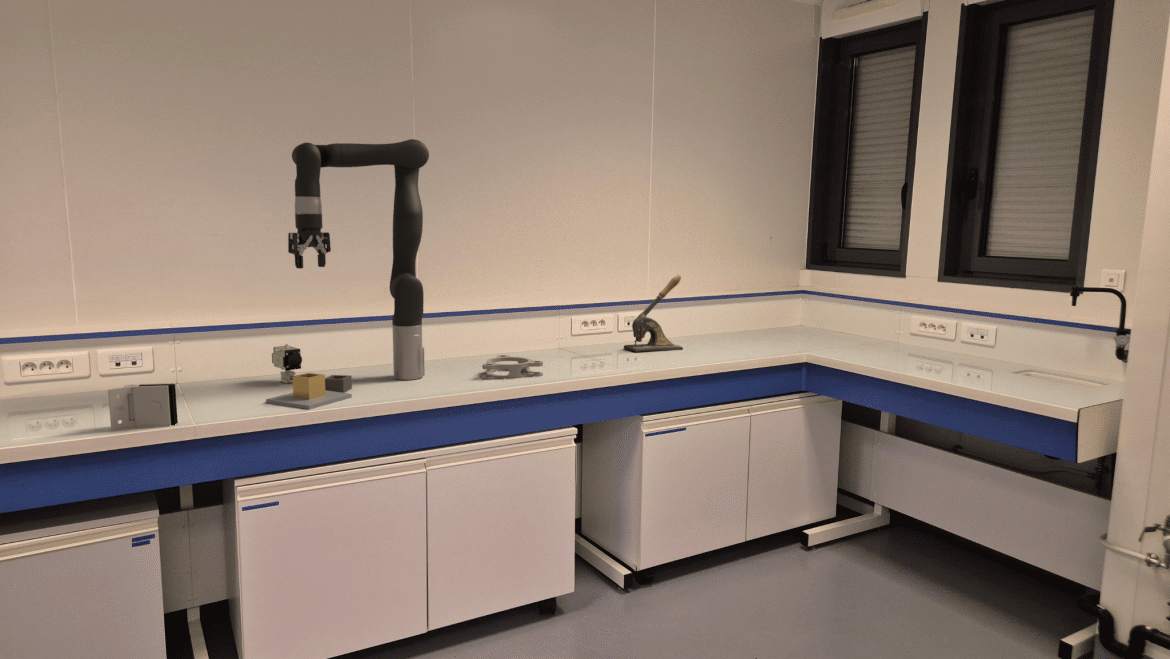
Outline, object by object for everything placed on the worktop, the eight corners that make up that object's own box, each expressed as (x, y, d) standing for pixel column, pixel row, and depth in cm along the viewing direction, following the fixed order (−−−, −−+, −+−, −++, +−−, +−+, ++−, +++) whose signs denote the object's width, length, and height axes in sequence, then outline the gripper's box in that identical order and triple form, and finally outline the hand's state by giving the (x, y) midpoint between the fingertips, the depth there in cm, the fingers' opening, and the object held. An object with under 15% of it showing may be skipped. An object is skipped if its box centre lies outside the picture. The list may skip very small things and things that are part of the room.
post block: (310, 391, 222) (309, 371, 221) (351, 397, 215) (351, 376, 214) (266, 402, 208) (265, 381, 207) (309, 409, 201) (308, 387, 200)
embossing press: (622, 349, 305) (623, 274, 300) (673, 345, 314) (675, 273, 310) (634, 353, 295) (635, 276, 290) (686, 350, 304) (688, 275, 300)
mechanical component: (484, 381, 241) (484, 366, 240) (472, 370, 258) (472, 356, 258) (545, 377, 248) (545, 362, 247) (529, 367, 265) (529, 353, 265)
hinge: (110, 431, 178) (107, 389, 177) (114, 426, 183) (111, 385, 182) (176, 425, 184) (174, 385, 183) (179, 420, 189) (176, 381, 187)
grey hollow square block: (332, 387, 227) (332, 374, 227) (351, 388, 227) (351, 375, 226) (323, 392, 221) (323, 378, 221) (343, 392, 221) (343, 379, 220)
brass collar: (309, 393, 215) (308, 372, 215) (325, 395, 213) (324, 374, 212) (293, 397, 210) (292, 376, 209) (309, 399, 208) (308, 378, 207)
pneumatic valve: (287, 378, 240) (286, 341, 239) (303, 384, 232) (302, 345, 231) (270, 380, 237) (268, 343, 235) (286, 386, 228) (284, 347, 227)
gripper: (317, 213, 230) (319, 266, 232) (280, 212, 217) (282, 268, 220) (335, 213, 227) (337, 267, 229) (299, 212, 214) (301, 269, 216)
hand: (310, 267), depth 224 cm, fingers open, 8 cm apart
